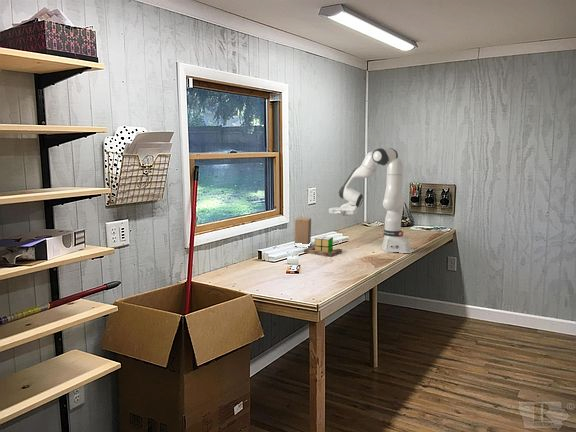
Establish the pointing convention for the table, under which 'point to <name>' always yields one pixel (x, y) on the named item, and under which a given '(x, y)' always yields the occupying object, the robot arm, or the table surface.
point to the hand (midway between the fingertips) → (338, 213)
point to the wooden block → (303, 230)
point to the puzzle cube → (324, 244)
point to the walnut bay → (329, 254)
